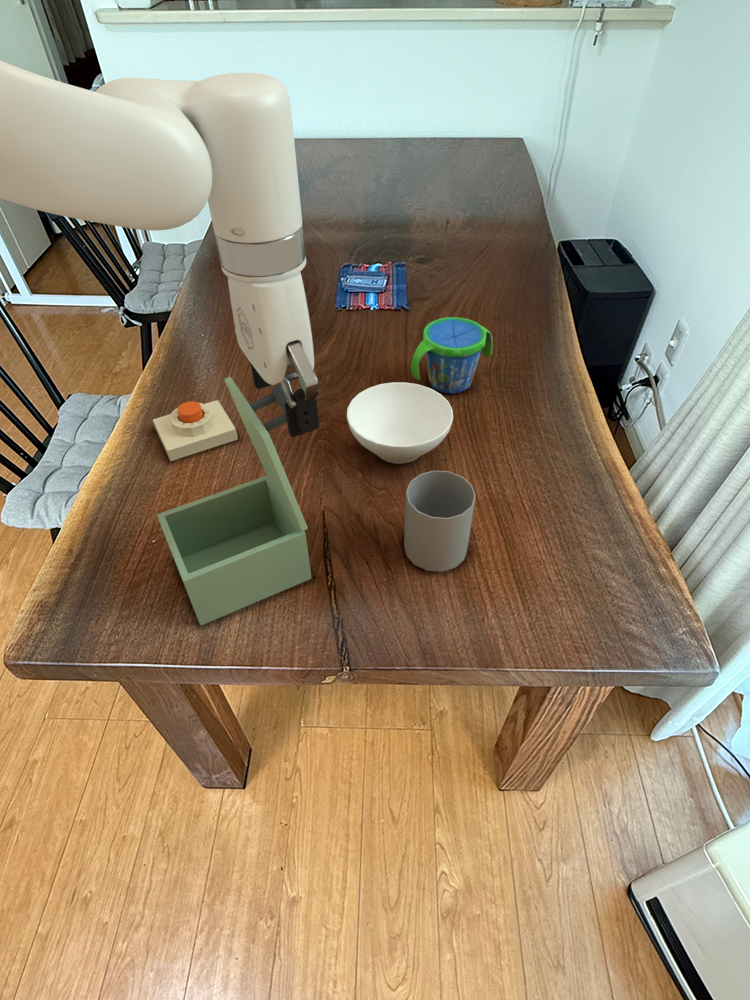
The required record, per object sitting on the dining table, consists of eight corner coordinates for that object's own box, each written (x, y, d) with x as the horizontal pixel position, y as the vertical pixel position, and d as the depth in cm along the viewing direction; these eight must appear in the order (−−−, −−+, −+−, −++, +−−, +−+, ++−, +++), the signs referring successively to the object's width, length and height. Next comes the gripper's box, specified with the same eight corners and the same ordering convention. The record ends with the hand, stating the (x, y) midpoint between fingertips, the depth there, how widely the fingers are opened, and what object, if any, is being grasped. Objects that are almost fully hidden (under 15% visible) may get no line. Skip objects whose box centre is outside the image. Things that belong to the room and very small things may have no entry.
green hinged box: (200, 626, 71) (183, 581, 65) (174, 560, 79) (156, 514, 72) (311, 578, 76) (305, 532, 70) (277, 520, 83) (269, 474, 77)
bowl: (330, 465, 91) (327, 429, 86) (373, 408, 102) (373, 372, 97) (428, 495, 87) (431, 458, 82) (463, 431, 97) (467, 396, 92)
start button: (183, 426, 93) (181, 417, 92) (177, 414, 95) (174, 405, 94) (206, 419, 94) (203, 410, 93) (199, 407, 96) (196, 398, 95)
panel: (170, 461, 92) (163, 441, 90) (155, 429, 98) (149, 410, 95) (238, 439, 96) (233, 419, 93) (220, 410, 102) (215, 390, 99)
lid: (262, 437, 58) (312, 413, 59) (223, 379, 65) (269, 357, 66) (302, 532, 70) (344, 509, 71) (265, 473, 77) (304, 453, 78)
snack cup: (423, 410, 101) (426, 357, 94) (398, 377, 108) (399, 326, 101) (503, 389, 105) (512, 337, 98) (474, 359, 112) (480, 309, 105)
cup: (466, 526, 82) (475, 473, 75) (467, 573, 77) (476, 520, 70) (405, 522, 83) (408, 468, 76) (402, 568, 77) (403, 515, 70)
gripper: (191, 223, 56) (226, 377, 68) (256, 298, 46) (284, 465, 58) (265, 208, 59) (287, 359, 71) (344, 276, 48) (353, 440, 60)
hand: (285, 407), depth 64 cm, fingers open, 9 cm apart
